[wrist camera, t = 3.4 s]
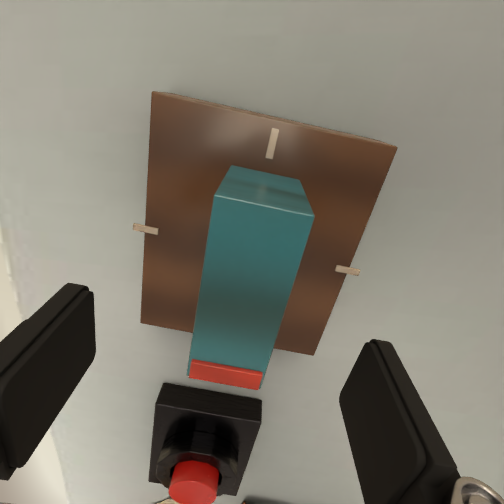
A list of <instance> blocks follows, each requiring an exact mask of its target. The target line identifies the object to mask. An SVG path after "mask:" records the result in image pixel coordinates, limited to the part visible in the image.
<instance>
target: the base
mask: <svg viewBox="0 0 504 504" xmlns="http://www.w3.org/2000/svg"><path fill="white" fill-rule="evenodd" d="M396 150H397V147H396V146H393V145H390V144H387V143H384V142H381V141H378V140H375V139H370V138H366V137H361V136H357V135H353V134H348V133H344V132H340V131H335V130H331V129H326V128H322V127H318V126H313V125H309V124H305V123H300V122H296V121H291V120H287V119H283V118H278V117H274V116H270V115H265V114H261V113H256V112H252V111H248V110H243V109H239V108H234V107H230V106H226V105H221V104H217V103H213V102H208V101H204V100H199V99H195V98H191V97H186V96H182V95H178V94H173V93H166V92H156V91H153V92H152V99H151V119H150V139H149V159H148V180H147V200H146V220H145V225H140V224H135V223H134V224H133V230H136V231H141V232H145V241H144V261H143V281H142V301H141V323H143V324H149V325H154V326H159V327H164V328H170V329H175V330H180V331H186V332H191V333H193V329H194V323H195V316H196V309H197V303H198V296H199V290H200V283H201V276H202V270H203V263H204V257H205V250H206V244H207V237H208V230H209V224H210V217H211V211H212V204H213V198H214V194H215V193H216V191H217V189H218V187H219V186H220V184H221V182H222V180H223V179H224V177H225V175H226V173H227V172H228V170H229V168H230V166H231V165H234V166H238V167H243V168H248V169H252V170H257V171H261V172H266V173H270V174H275V175H280V176H284V177H289V178H293V179H298V180H300V182H301V184H302V187H303V189H304V192H305V194H306V196H307V199H308V201H309V203H310V206H311V208H312V211H313V213H314V215H315V218H314V221H313V224H312V227H311V230H310V234H309V237H308V240H307V243H306V246H305V249H304V253H303V256H302V259H301V262H300V265H299V268H298V271H297V275H296V278H295V281H294V284H293V287H292V290H291V294H290V297H289V300H288V303H287V306H286V309H285V312H284V316H283V319H282V322H281V325H280V328H279V331H278V335H277V338H276V341H275V344H274V347H273V348H276V349H281V350H286V351H291V352H297V353H302V354H307V355H314V354H315V351H316V349H317V346H318V344H319V341H320V339H321V336H322V334H323V331H324V329H325V326H326V324H327V321H328V319H329V316H330V314H331V311H332V309H333V306H334V304H335V302H336V299H337V297H338V294H339V292H340V289H341V287H342V284H343V282H344V279H345V277H346V274H351V275H356V276H358V275H359V273H360V270H359V269H354V268H350V264H351V262H352V259H353V257H354V254H355V252H356V250H357V247H358V245H359V242H360V240H361V237H362V235H363V232H364V230H365V227H366V225H367V222H368V220H369V217H370V215H371V212H372V210H373V207H374V205H375V202H376V200H377V198H378V195H379V193H380V190H381V188H382V185H383V183H384V180H385V178H386V175H387V173H388V170H389V168H390V165H391V163H392V160H393V158H394V155H395V153H396Z"/></svg>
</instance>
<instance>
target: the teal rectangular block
mask: <svg viewBox="0 0 504 504" xmlns="http://www.w3.org/2000/svg"><path fill="white" fill-rule="evenodd" d="M314 218H315V215H314V213H313V211H312V208H311V206H310V203H309V201H308V199H307V196H306V194H305V192H304V189H303V187H302V184H301V182H300V180H298V179H293V178H289V177H284V176H280V175H275V174H270V173H266V172H261V171H257V170H252V169H248V168H243V167H238V166H234V165H231V166H230V168H229V170H228V172H227V173H226V175H225V177H224V179H223V180H222V182H221V184H220V186H219V187H218V189H217V191H216V193H215V194H214V198H213V204H212V211H211V217H210V224H209V230H208V237H207V244H206V250H205V257H204V263H203V270H202V276H201V283H200V290H199V296H198V303H197V309H196V316H195V323H194V329H193V336H192V342H191V349H190V355H189V362H188V369H187V376H189V378H193V379H199V380H204V381H210V382H215V383H221V384H226V385H232V386H237V387H243V388H248V389H254V390H258V389H260V388H261V385H262V382H263V379H264V376H265V372H266V369H267V366H268V363H269V360H270V357H271V353H272V350H273V347H274V344H275V341H276V338H277V335H278V331H279V328H280V325H281V322H282V319H283V316H284V312H285V309H286V306H287V303H288V300H289V297H290V294H291V290H292V287H293V284H294V281H295V278H296V275H297V271H298V268H299V265H300V262H301V259H302V256H303V253H304V249H305V246H306V243H307V240H308V237H309V234H310V230H311V227H312V224H313V221H314Z"/></svg>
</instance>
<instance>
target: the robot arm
mask: <svg viewBox="0 0 504 504" xmlns="http://www.w3.org/2000/svg"><path fill="white" fill-rule="evenodd" d="M95 353H96V342H95V317H94V294H93V292H91V291H89V288H88V287H87V286H84V285H78V284H73V283H67V284H66V285H64V286H63V287H62V288H61V289H60V290H59V291H58V292H57V293H56V294H55V295H54V296H53V297H52V298H50V299H49V300H48V301H47V302H46V303H45V304H44V305H43V306H42V307H41V308H40V309H39V310H38V311H36V312H35V313H34V314H33V315H32V316H31V317H30V318H29V319H27V320H25V321H23V322H22V323H21V324H19V325H18V326H17V327H16V328H15V329H14V330H13V331H12V332H11V333H10V334H9V335H8V336H6V337H5V338H4V339H3V340H2V341H1V342H0V479H1V480H9V479H10V477H11V476H12V474H13V472H14V471H15V470H16V468H21V467H23V466H24V465H25V464H26V462H27V461H28V460H29V458H30V457H31V455H32V454H33V452H34V451H35V449H36V447H37V446H38V444H39V443H40V441H41V440H42V438H43V437H44V435H45V433H46V432H47V431H48V429H49V428H50V426H51V425H52V423H53V421H54V420H55V418H56V417H57V415H58V414H59V412H60V411H61V409H62V408H63V406H64V405H65V403H66V402H67V400H68V398H69V397H70V395H71V394H72V392H73V391H74V389H75V388H76V386H77V385H78V383H79V382H80V380H81V379H82V377H83V375H84V374H85V372H86V371H87V369H88V368H89V366H90V365H91V363H92V362H93V360H94V357H95ZM339 403H340V407H341V411H342V415H343V419H344V423H345V427H346V431H347V435H348V439H349V443H350V447H351V451H352V455H353V459H354V463H355V466H356V470H357V474H358V478H359V482H360V486H361V490H362V494H363V498H364V502H365V504H504V500H503V498H502V497H501V496H500V495H499V494H498V493H496V492H495V491H494V490H493V489H492V488H491V487H489V486H488V485H486V484H485V483H483V482H481V481H480V480H477V479H474V478H472V477H460V475H459V473H458V471H457V469H456V468H457V466H456V464H455V462H454V460H453V458H452V456H451V455H450V453H449V451H448V449H447V447H446V445H445V443H444V441H443V440H442V438H441V436H440V434H439V432H438V430H437V428H436V426H435V424H434V423H433V421H432V419H431V417H430V415H429V413H428V411H427V409H426V407H425V406H424V404H423V402H422V400H421V398H420V396H419V394H418V392H417V390H416V389H415V387H414V385H413V383H412V381H411V379H410V377H409V375H408V374H407V372H406V370H405V368H404V366H403V364H402V362H401V360H400V358H399V357H398V355H397V353H396V351H395V349H394V347H393V345H392V344H391V343H390V342H387V341H381V340H376V339H372V340H371V341H370V342H367V343H365V345H364V346H363V348H362V350H361V352H360V355H359V357H358V359H357V361H356V363H355V365H354V367H353V369H352V371H351V373H350V375H349V377H348V379H347V381H346V383H345V385H344V387H343V389H342V391H341V393H340V397H339ZM0 504H10V503H1V502H0Z"/></svg>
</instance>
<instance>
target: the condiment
mask: <svg viewBox="0 0 504 504" xmlns="http://www.w3.org/2000/svg"><path fill="white" fill-rule="evenodd" d="M157 504H180V503H178V502H176V501H174V500H173V499H167V500H165V501H162V502H160V503H157Z"/></svg>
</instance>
